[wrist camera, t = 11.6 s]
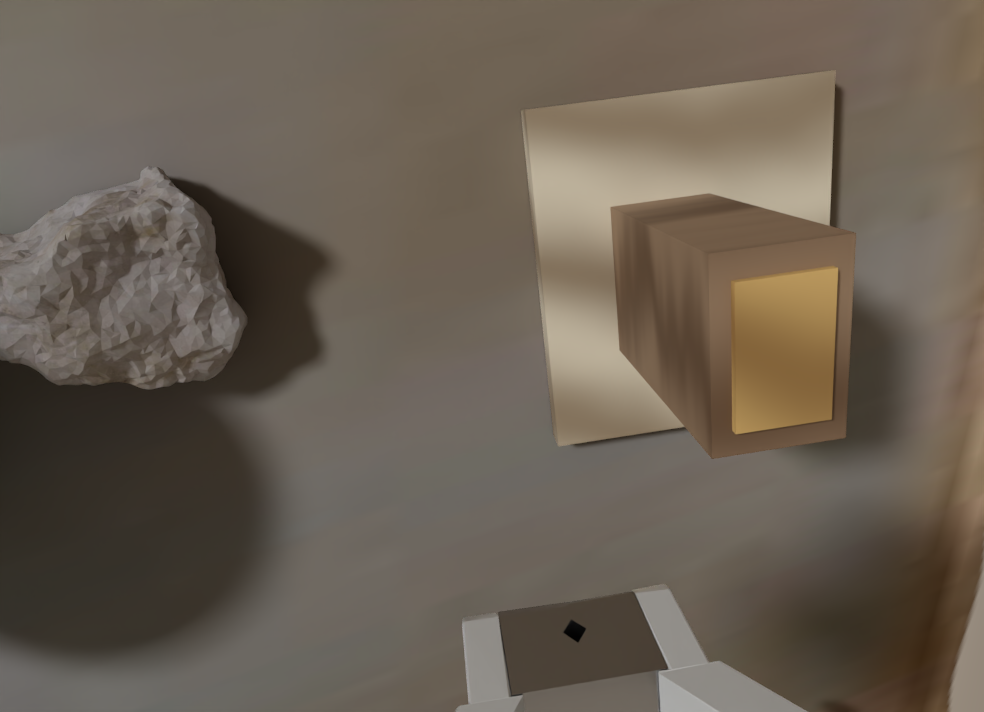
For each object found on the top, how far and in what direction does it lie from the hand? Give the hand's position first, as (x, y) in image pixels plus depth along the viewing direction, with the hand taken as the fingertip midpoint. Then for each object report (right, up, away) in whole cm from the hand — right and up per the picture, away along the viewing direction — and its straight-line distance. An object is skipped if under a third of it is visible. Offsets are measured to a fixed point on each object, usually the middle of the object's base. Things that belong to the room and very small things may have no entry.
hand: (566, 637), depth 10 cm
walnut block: (+6, +7, +19) cm, 21 cm away
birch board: (+7, +8, +20) cm, 22 cm away
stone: (-16, +8, +18) cm, 25 cm away
